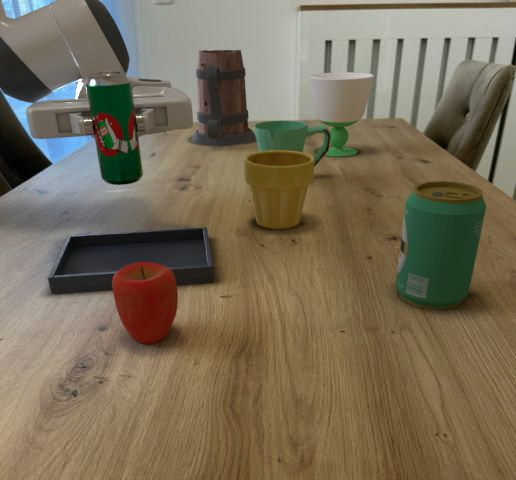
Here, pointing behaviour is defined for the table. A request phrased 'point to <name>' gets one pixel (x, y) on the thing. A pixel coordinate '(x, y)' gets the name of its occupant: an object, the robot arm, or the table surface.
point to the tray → (130, 257)
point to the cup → (340, 104)
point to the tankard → (221, 99)
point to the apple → (146, 300)
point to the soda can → (114, 127)
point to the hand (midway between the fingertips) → (115, 126)
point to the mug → (289, 136)
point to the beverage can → (439, 243)
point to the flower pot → (278, 185)
